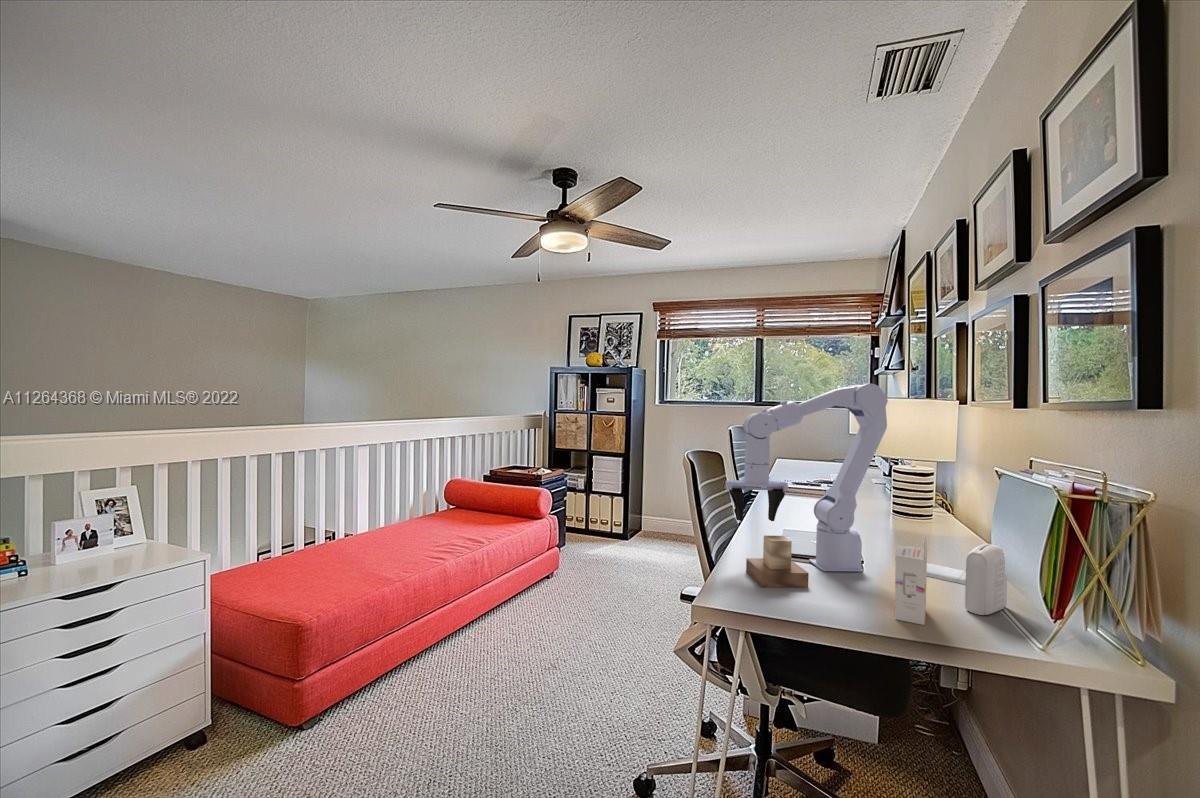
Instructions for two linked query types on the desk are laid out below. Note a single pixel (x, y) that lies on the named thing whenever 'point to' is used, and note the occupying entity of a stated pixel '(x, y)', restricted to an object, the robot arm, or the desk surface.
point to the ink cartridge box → (911, 583)
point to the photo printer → (985, 580)
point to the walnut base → (776, 574)
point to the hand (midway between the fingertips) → (755, 520)
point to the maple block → (777, 552)
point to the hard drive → (946, 573)
